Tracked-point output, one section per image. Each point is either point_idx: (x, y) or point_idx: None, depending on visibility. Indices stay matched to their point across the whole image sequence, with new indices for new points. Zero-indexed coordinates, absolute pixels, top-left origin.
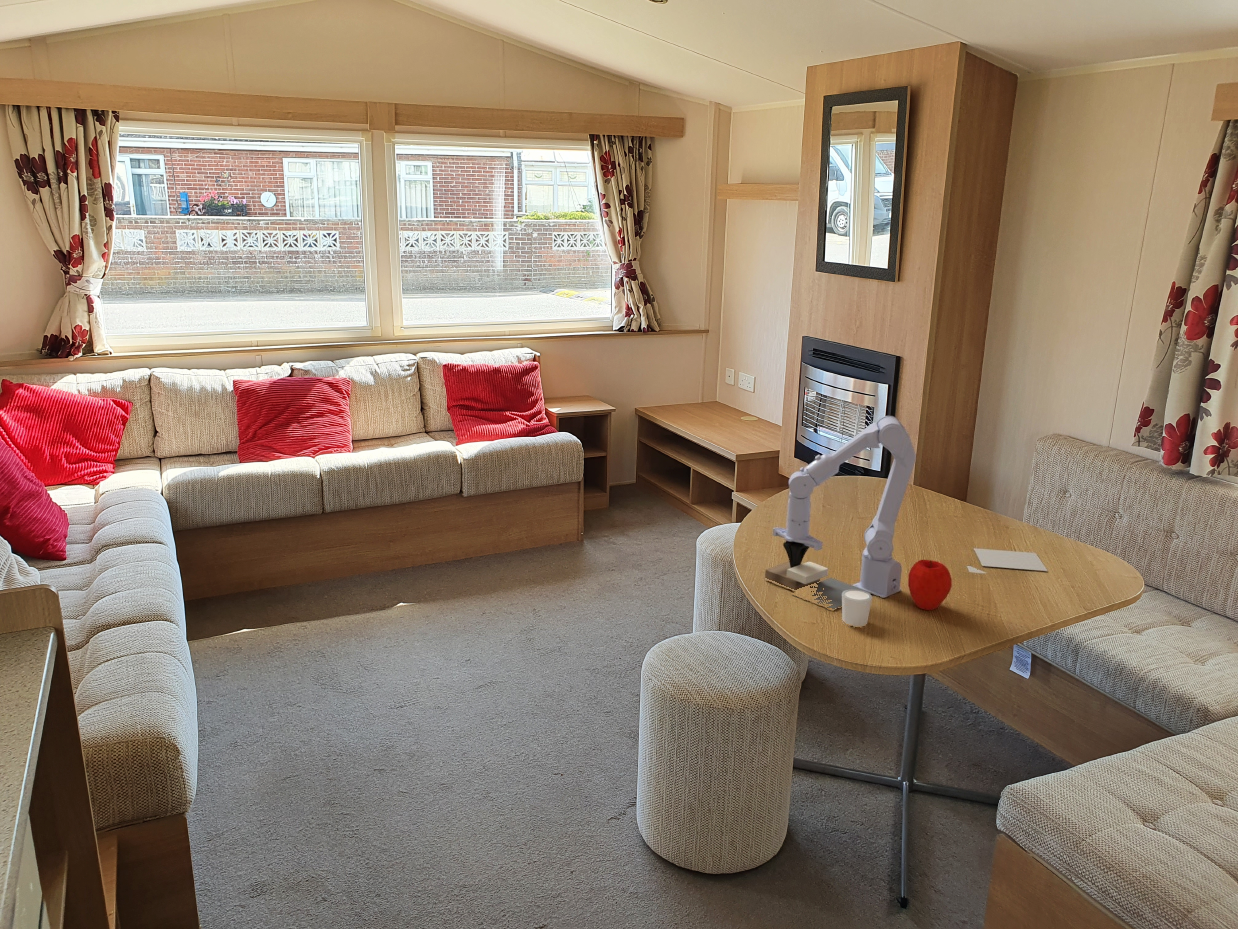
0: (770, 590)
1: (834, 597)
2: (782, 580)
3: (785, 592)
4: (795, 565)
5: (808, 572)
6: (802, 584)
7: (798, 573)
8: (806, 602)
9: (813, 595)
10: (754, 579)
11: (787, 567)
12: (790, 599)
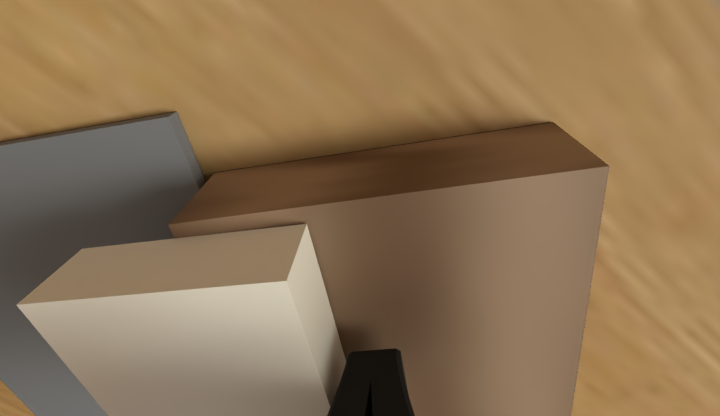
0: (343, 4)
1: None
2: (344, 180)
3: (245, 105)
4: (338, 401)
5: (134, 385)
6: None
7: (125, 303)
8: (6, 118)
9: (84, 230)
10: (650, 49)
11: (486, 358)
12: (87, 36)
